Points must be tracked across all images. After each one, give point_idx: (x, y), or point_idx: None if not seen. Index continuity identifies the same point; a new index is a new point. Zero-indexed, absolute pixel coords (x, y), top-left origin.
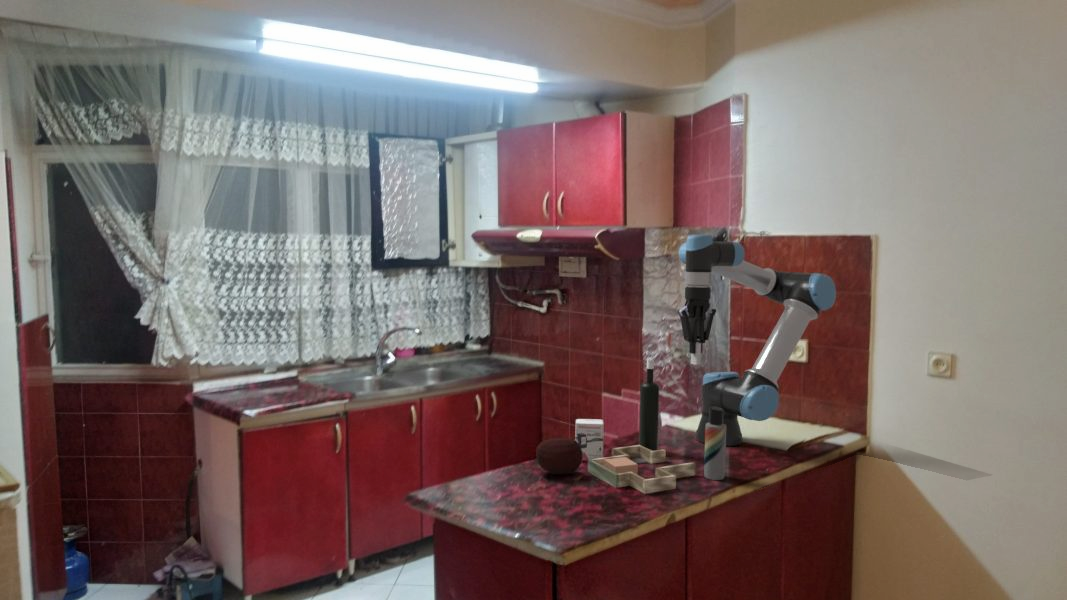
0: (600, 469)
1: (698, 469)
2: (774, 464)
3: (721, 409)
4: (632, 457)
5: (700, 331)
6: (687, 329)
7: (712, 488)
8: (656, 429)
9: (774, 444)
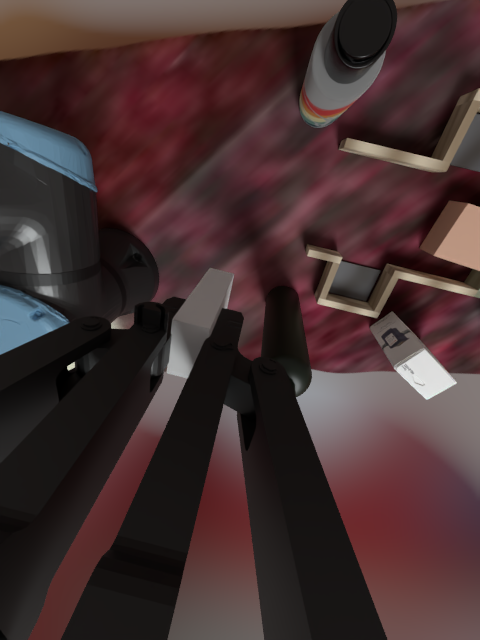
0: None
1: (299, 166)
2: (134, 78)
3: (354, 6)
4: (337, 293)
5: (128, 391)
6: (318, 460)
7: (400, 36)
8: (281, 304)
9: None
